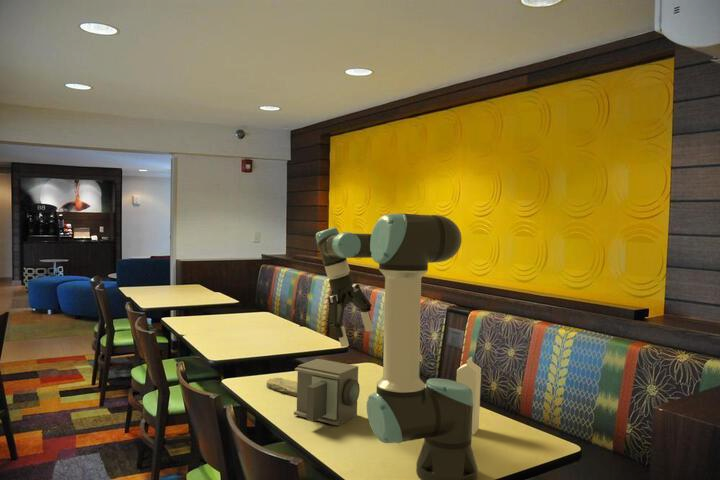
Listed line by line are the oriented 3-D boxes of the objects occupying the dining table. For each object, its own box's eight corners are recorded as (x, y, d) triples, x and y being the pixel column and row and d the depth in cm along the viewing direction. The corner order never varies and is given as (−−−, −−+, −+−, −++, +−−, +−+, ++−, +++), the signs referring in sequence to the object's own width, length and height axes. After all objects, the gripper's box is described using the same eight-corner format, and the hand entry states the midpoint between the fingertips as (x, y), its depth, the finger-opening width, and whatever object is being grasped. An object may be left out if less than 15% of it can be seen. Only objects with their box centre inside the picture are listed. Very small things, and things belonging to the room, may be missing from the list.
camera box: (362, 416, 177) (363, 367, 177) (341, 428, 166) (343, 376, 166) (316, 405, 186) (317, 358, 186) (293, 416, 176) (294, 366, 175)
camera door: (336, 419, 169) (337, 380, 168) (322, 427, 162) (323, 386, 162) (312, 413, 173) (313, 375, 173) (297, 420, 166) (298, 381, 166)
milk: (454, 431, 167) (456, 359, 166) (460, 425, 173) (462, 355, 172) (474, 435, 164) (476, 361, 164) (479, 428, 170) (481, 357, 169)
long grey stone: (278, 386, 212) (259, 394, 204) (277, 372, 212) (259, 379, 204) (353, 400, 193) (336, 409, 184) (352, 385, 192) (335, 393, 184)
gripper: (353, 267, 189) (370, 325, 191) (305, 288, 170) (325, 353, 171) (370, 263, 185) (387, 324, 186) (323, 285, 165) (343, 352, 166)
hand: (357, 338), depth 179 cm, fingers open, 13 cm apart
